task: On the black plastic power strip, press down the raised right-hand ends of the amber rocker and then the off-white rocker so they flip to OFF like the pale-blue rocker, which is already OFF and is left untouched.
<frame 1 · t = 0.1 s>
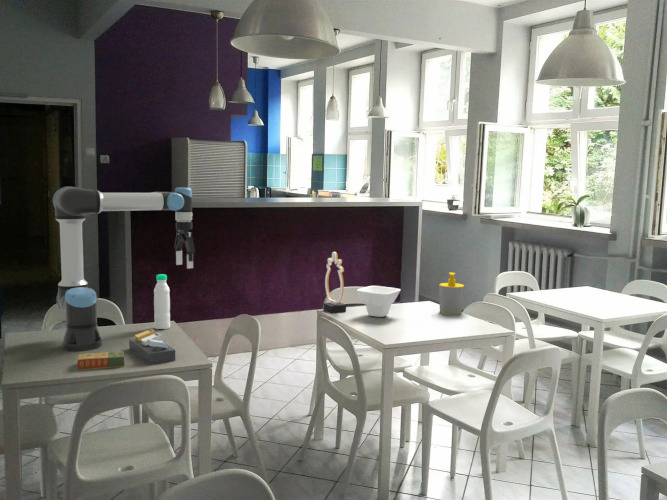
hand: (184, 266, 287), 28 cm above the table, fingers open, 13 cm apart
rocker white: (151, 339, 241), point 6 cm above the table, hinge at -15.0°
bowl: (378, 316, 316), on the table
water bottle: (162, 328, 284), on the table
lamp: (334, 311, 327), on the table
carton: (101, 366, 228), on the table
rocker amber: (145, 334, 247), point 6 cm above the table, hinge at -15.0°
rocker blue: (157, 343, 235), point 6 cm above the table, hinge at 15.0°
soap bottle: (450, 312, 329), on the table
power strip: (151, 354, 242), on the table
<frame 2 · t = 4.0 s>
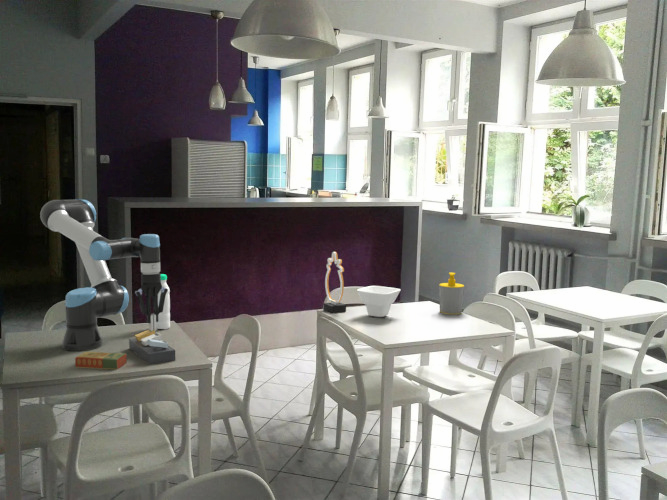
hand: (152, 330, 249), 8 cm above the table, fingers closed
rocker amber: (145, 334, 247), point 6 cm above the table, hinge at -14.4°, touching gripper
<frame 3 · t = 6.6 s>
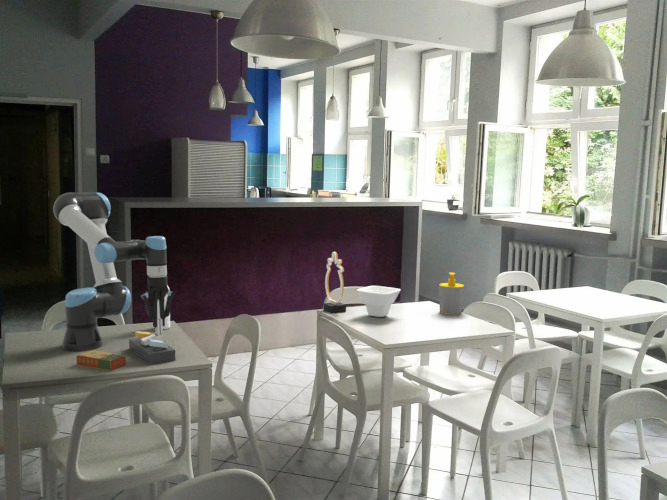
hand: (159, 334, 243), 7 cm above the table, fingers closed, pressing on rocker white
rocker white: (151, 339, 241), point 6 cm above the table, hinge at -13.3°, touching gripper
rocker amber: (145, 334, 248), point 6 cm above the table, hinge at 12.3°
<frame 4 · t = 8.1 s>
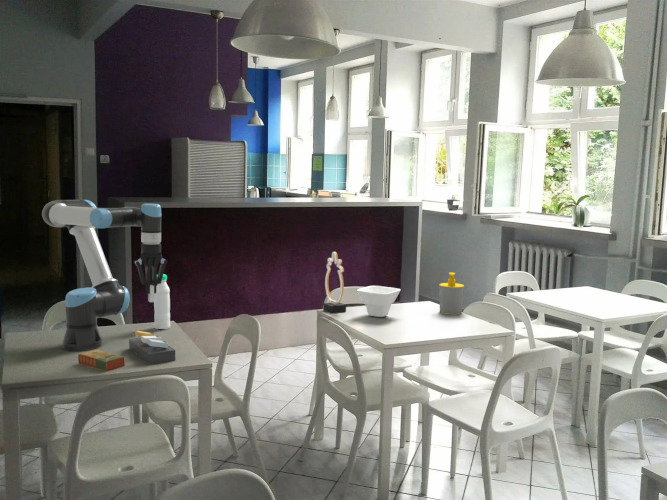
hand: (151, 301, 246), 20 cm above the table, fingers closed
rocker white: (151, 338, 241), point 6 cm above the table, hinge at 6.8°
rocker amber: (145, 334, 248), point 6 cm above the table, hinge at 16.9°
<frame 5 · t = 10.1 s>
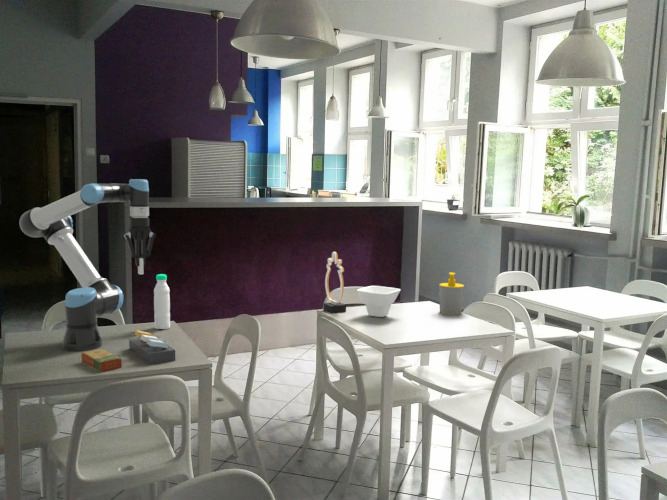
hand: (140, 273, 255), 29 cm above the table, fingers closed
rocker white: (151, 338, 241), point 6 cm above the table, hinge at 16.4°
rocker amber: (145, 334, 248), point 6 cm above the table, hinge at 19.2°, touching power strip
at the end: rocker amber at +19° (first picture: -15°); rocker white at +17° (first picture: -15°); rocker blue at +15° (first picture: +15°) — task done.
